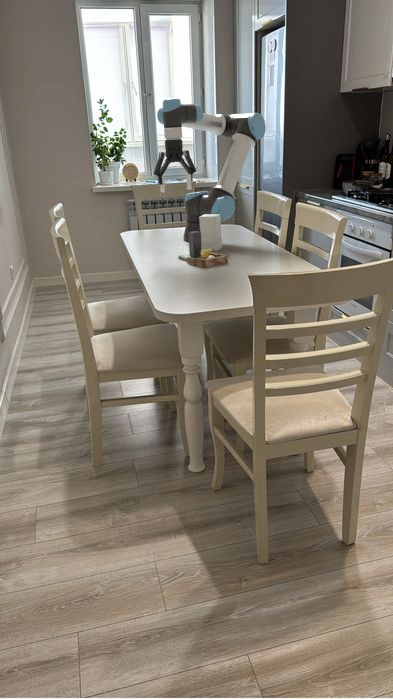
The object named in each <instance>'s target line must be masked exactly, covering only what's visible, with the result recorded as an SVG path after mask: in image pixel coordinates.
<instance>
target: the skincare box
mask: <svg viewBox="0 0 393 699" xmlns="http://www.w3.org/2000/svg"><path fill="white" fill-rule="evenodd" d="M199 221H200V232H201V242H202V250H204V249H212V252H213V251H216V252H217V251H220V250H222V248H223V239H222V238H223V237H222V221H221V217H220V214H204V215H202V216H200V217H199Z"/></svg>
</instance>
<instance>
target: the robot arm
mask: <svg viewBox="0 0 393 699" xmlns="http://www.w3.org/2000/svg"><path fill="white" fill-rule="evenodd" d="M156 116H157V117H156V118H157V121H158V123H160V125H163V131H164V132H163V134H164V139H165V140H164V148H165V151H159V152H158V159H157V162H156V164H155V167H154V171H153V176H156V177H157V182H158V185H159V189H160V193H164V194H165V193H166V185H165V176H163V175H164V174H165V172H166V171H167V169H168V167H169V166H170V165H171V163H179V164H180V165H181V166H182V167H183V168H184V170H185V171H186V189H187V190H189V191H191V190H192V189H193V188H192V187H193V186H192V182H193V180H194V179H193V177H194V176H193V175H194V173H196V172H197V168H196V167H195V164H194V163H193V160H192V158H191V155H190V151H189V150H188V149H187V150H183V145H184V144H183V139H182V138H183V130H182V129H183V127H184V128H188V129H193V130H200V131H204V132H209V133H213V135H215V136H216V137H217V136H218V137H222V138H227V139H231V140H233V141H232V142H233V143H232V145H231V148H230V150H229V153H228V155H227V157H226V160H225V163H224V165H223V167H222V170H221V173H220V175H219V178H218V180H217V183H216V185H215V186H212V187H211V190H210V192H209V191H208V190H203V191H196V192H195V191H194V192H189V193H186V195H185V197H184V206H185V210H184V211H185V223H186V224H185V228H184V233H183V241H185V242H189V232H194V231H198V232H200V221H199V217H200V216H202V215H204V214H220V217H221V222H224V221H228V220H229V219H230V218H232V216H233V215H234V213H235V210H236V206H235V205H236V201H235V196H234V191H235V188H236V187H237V186H236V185H237V183H238V181H239V177H240V175H241V173H242V170H243V167H244V165H245V162H246V160H247V158H248V155H249V153H250V150H251V148H253V147H254V148H255V145H256V143H257V140H261V139H262V138H264V136H265V134H266V128H267V126H266V121H265V118H264V117H263V115H262V114H260V113H259V112H247V113H233V114H220V113H219V114H216V115H215V114H209V113H205V112H204V109H203V107H202V106H201V105H200V104H197V103H186V104H185V103H184V104H182V103H181V99H180V98H164V99H163V102H162V106H161V107H159V108H158V110H157V113H156ZM183 156H184V158H183ZM164 159H165V160H164Z"/></svg>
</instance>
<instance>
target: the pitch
mask: <svg viewBox="0 0 393 699" xmlns="http://www.w3.org/2000/svg"><path fill="white" fill-rule="evenodd" d="M177 256H178V260H182V261H184V262H186V263H187V264H189V265H192V266H197V267H200V268H203V269H204V268H205V269H206V268H210V267H214V266H220V265H225V264H228V260H229V258H228V255H227V254H222V253H215V252H212V256H214V257H215V258H209V259H202V257H201V256H198V257H192V256H190V253H186V254H181V255H177Z"/></svg>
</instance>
